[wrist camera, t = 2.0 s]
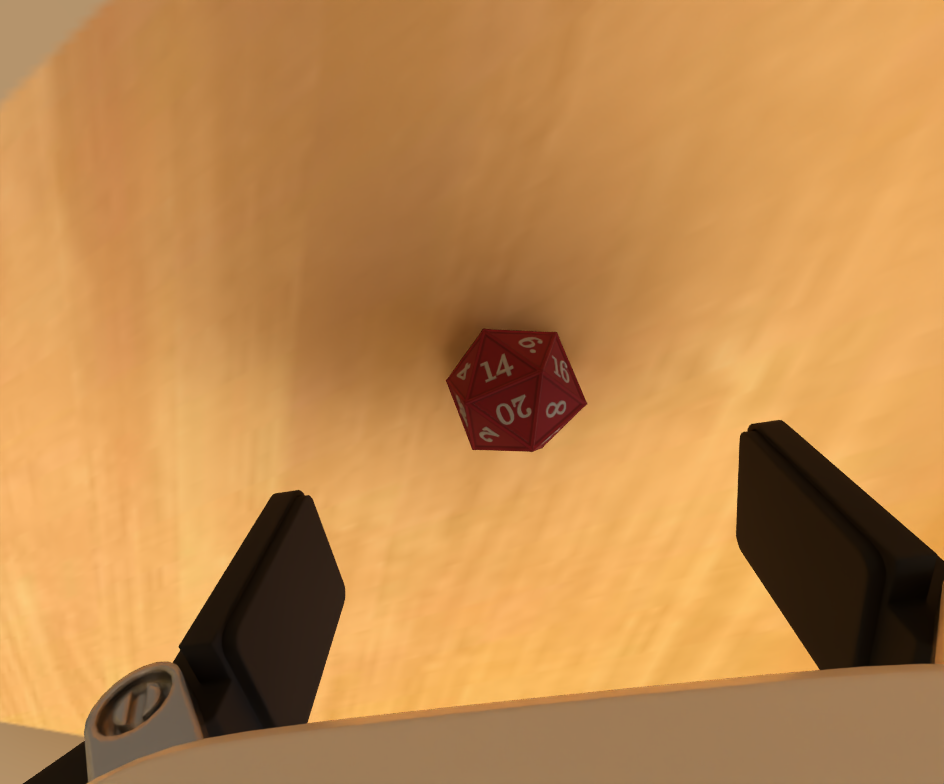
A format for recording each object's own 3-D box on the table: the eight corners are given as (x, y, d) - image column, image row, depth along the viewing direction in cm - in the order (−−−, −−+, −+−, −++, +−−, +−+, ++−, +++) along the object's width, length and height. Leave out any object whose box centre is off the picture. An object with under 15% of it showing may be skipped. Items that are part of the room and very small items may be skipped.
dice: (536, 284, 16) (552, 323, 13) (585, 398, 18) (611, 461, 14) (431, 332, 17) (418, 382, 14) (488, 437, 19) (489, 507, 15)
